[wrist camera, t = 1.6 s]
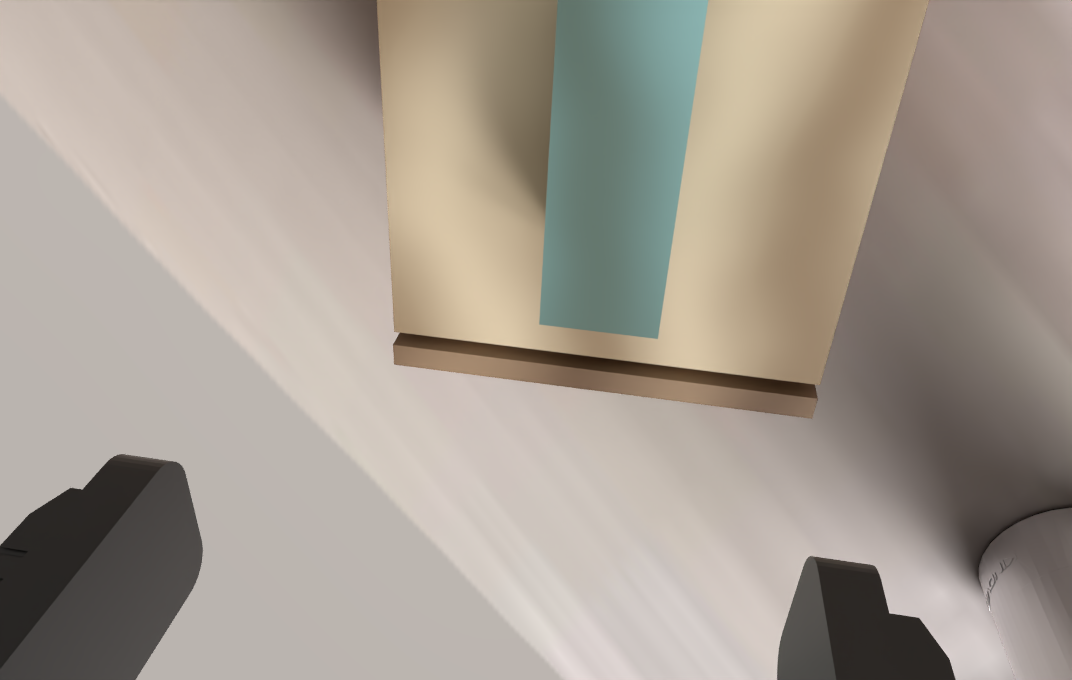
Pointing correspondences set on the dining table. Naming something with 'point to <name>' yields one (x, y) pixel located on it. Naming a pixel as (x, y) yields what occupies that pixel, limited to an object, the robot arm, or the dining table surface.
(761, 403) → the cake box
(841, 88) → the lid
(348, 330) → the dining table surface
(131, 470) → the robot arm
